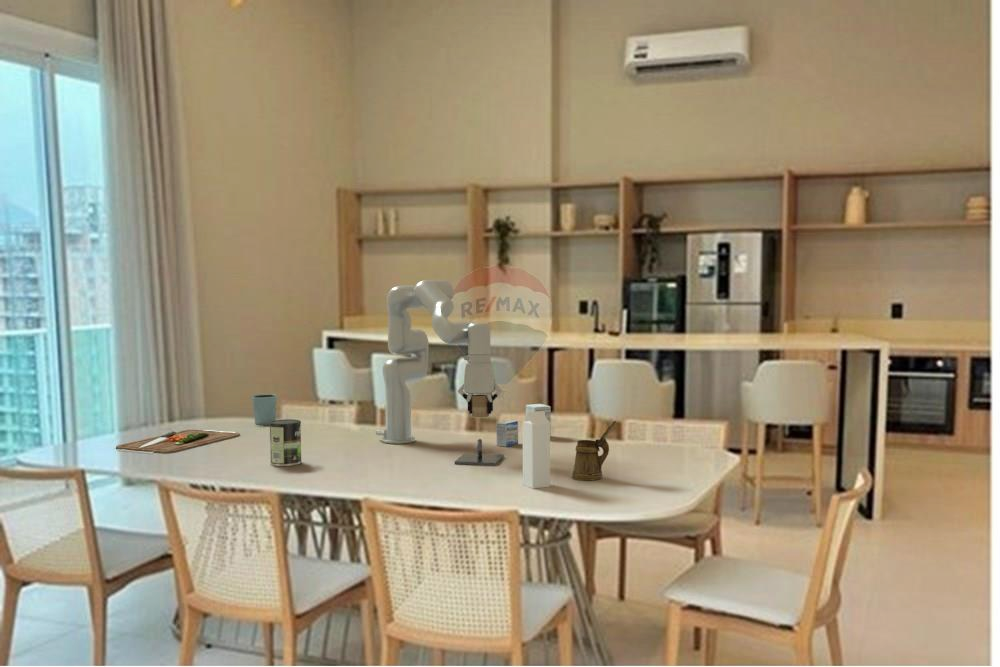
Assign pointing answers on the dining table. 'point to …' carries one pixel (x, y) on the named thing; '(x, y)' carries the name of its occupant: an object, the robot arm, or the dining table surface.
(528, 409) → the supplement box
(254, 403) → the blue cup
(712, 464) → the dining table surface
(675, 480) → the dining table surface
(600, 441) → the wooden mug
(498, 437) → the medicine box
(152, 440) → the chopping board
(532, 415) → the milk
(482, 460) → the holder
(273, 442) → the coffee can
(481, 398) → the cylinder
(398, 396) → the robot arm
